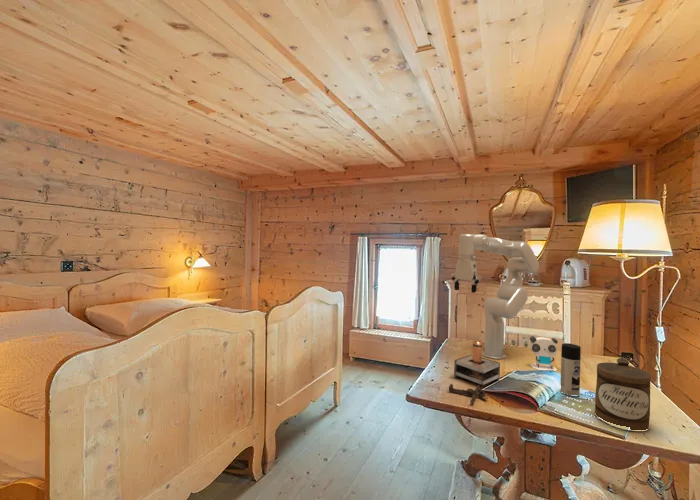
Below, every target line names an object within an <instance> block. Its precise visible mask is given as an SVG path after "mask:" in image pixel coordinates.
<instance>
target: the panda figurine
mask: <svg viewBox="0 0 700 500" xmlns="http://www.w3.org/2000/svg"><path fill="white" fill-rule="evenodd" d="M529 341H530V342H531V343H530V344H529V345H530V350H531V352H532V353H533V354H534V356H535V362H533V363H530V367H531V368H532V369H534V370H537V371H540V370H554V371H556V372H557V370H558V369H557V368H556V367H555V366H554V365H553V363H554V362H555V356H556V354H557V353H558V348H557V345H556V344H558V343H559V342H558V340H557V339H556V338H555V337H552V338H551V339H550V338H548V337H536V336H534V335H532V336H530V337H529Z"/></svg>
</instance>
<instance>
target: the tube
mask: <svg viewBox="0 0 700 500" xmlns="http://www.w3.org/2000/svg"><path fill="white" fill-rule="evenodd" d="M483 345H484V344H483V341H482V340H476V339H474V340H472V362H473V363H476V364H479V365H480V364H482V358H483V355H482V351H483V347H484V346H483ZM472 374H475V375H478V376H481V372H478V371H475V370H472Z"/></svg>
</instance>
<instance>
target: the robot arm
mask: <svg viewBox="0 0 700 500" xmlns="http://www.w3.org/2000/svg"><path fill="white" fill-rule="evenodd" d="M475 251H480V252H485V253H490V254H495V255H496V254H497V255H501V256H506V257H510V258H509V259H508V261H507V262H506V263H507V264H506V265H507V267H506V268H507V278H506V279H505V280H504V281H503V283H502V284H501V285H500V286H499V287H498V289H497V291H496V297H488V298H486V299H485V301H484V303H483V311H484V318H485V319H484V344H483V345H484V346H483V347H484V348H483V349H482V357H484V358H487V359H488V358H489V359H495V360H504V359H506V358H507V354H506V353H505V352H504V351H505V350H506V346H505V345H504V344H505V343H504V340H505V339H504V338H505V322H504V320H503V318H504V319H509V320H510V319H511V320H512V319H513V318H515V317H516V316H517V315H518V313H519V312H520V311H521V310H522V308H523V307H524V306H525V304H526V303H527V300H528V297H529V292H528V290H527V288H525V287H523V285H524V284H523V277H522V275H521V273H523V274H524V273H525V274H535V273H536V272H538V271H539V267H540V266H539V260H538V258H537V256H536V255H535V253H534V251H533V249H532V248H531V246H530V244H528V242H526V241H512V240H508V239H504V238H501V237H489V236H488V235H486V234H482V233H475V234H474V233H461V234H459V237H458V260H457V261H456V266H455V271H453V272H452V273H450V278H451V279H452V282H453V283H454V285H453V287H454V291H459V290H460V282H459V281H469V282H471V293H476V292H477V285H478V284H479V283H480V282H481V280H482V278H483V276H482V275H480V274H479V273H478V270H477V269H478V268H477V261H476V259H477V256H475Z"/></svg>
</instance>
